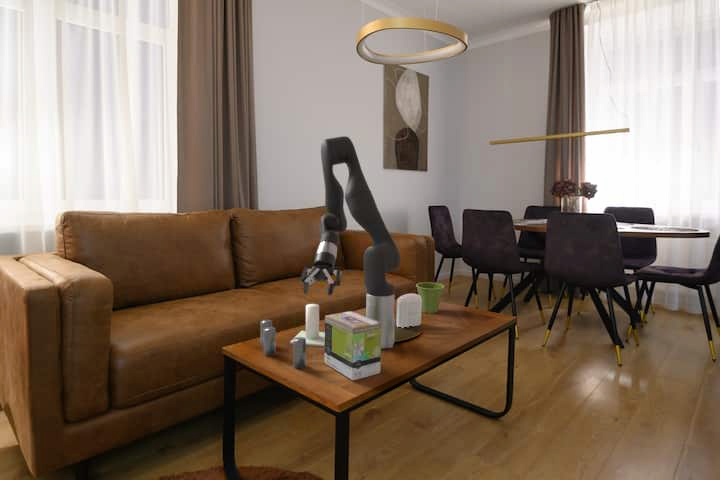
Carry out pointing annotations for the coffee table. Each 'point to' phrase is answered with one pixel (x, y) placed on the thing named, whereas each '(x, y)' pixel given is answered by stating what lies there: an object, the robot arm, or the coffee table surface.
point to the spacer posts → (270, 344)
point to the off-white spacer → (312, 321)
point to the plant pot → (430, 296)
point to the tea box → (353, 344)
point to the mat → (314, 342)
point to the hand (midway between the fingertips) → (317, 294)
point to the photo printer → (409, 310)
